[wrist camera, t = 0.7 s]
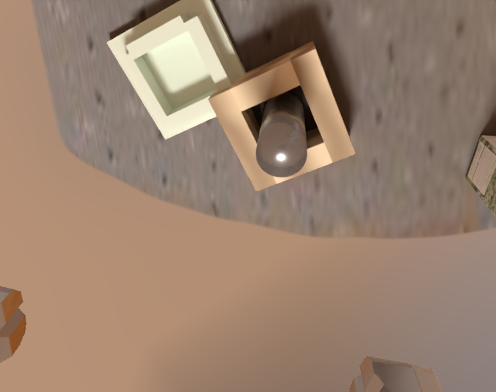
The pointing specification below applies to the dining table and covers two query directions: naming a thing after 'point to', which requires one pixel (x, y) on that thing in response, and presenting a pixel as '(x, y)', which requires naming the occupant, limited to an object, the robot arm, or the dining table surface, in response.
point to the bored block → (268, 86)
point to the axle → (282, 137)
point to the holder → (179, 63)
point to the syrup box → (484, 171)
